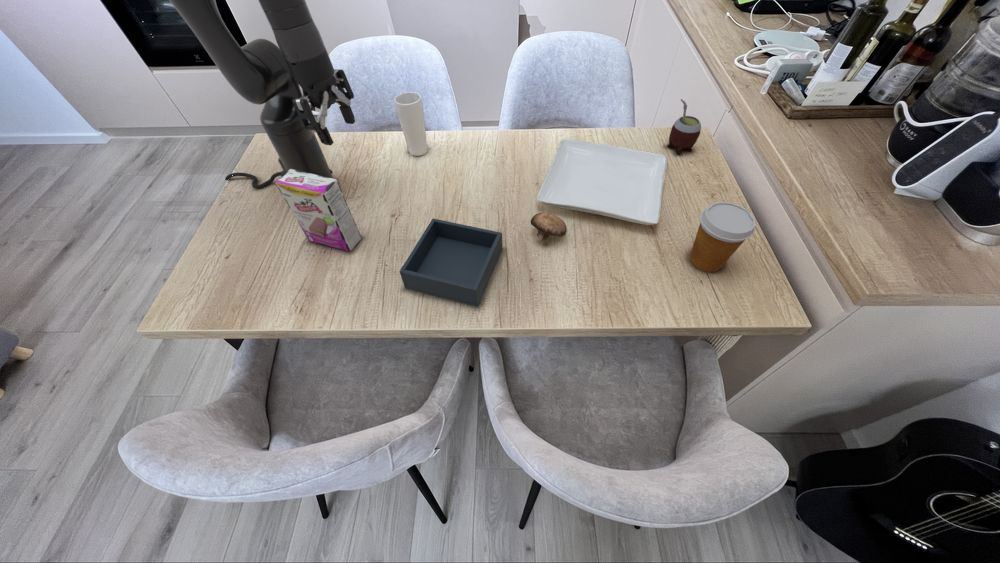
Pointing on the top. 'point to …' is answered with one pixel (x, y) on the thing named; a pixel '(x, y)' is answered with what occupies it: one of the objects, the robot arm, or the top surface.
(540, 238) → the mushroom
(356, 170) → the top surface
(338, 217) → the candy bar box
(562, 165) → the square plate
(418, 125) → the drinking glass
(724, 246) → the disposable coffee cup
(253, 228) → the top surface
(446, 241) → the tub
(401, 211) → the top surface
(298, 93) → the robot arm
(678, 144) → the mate gourd
